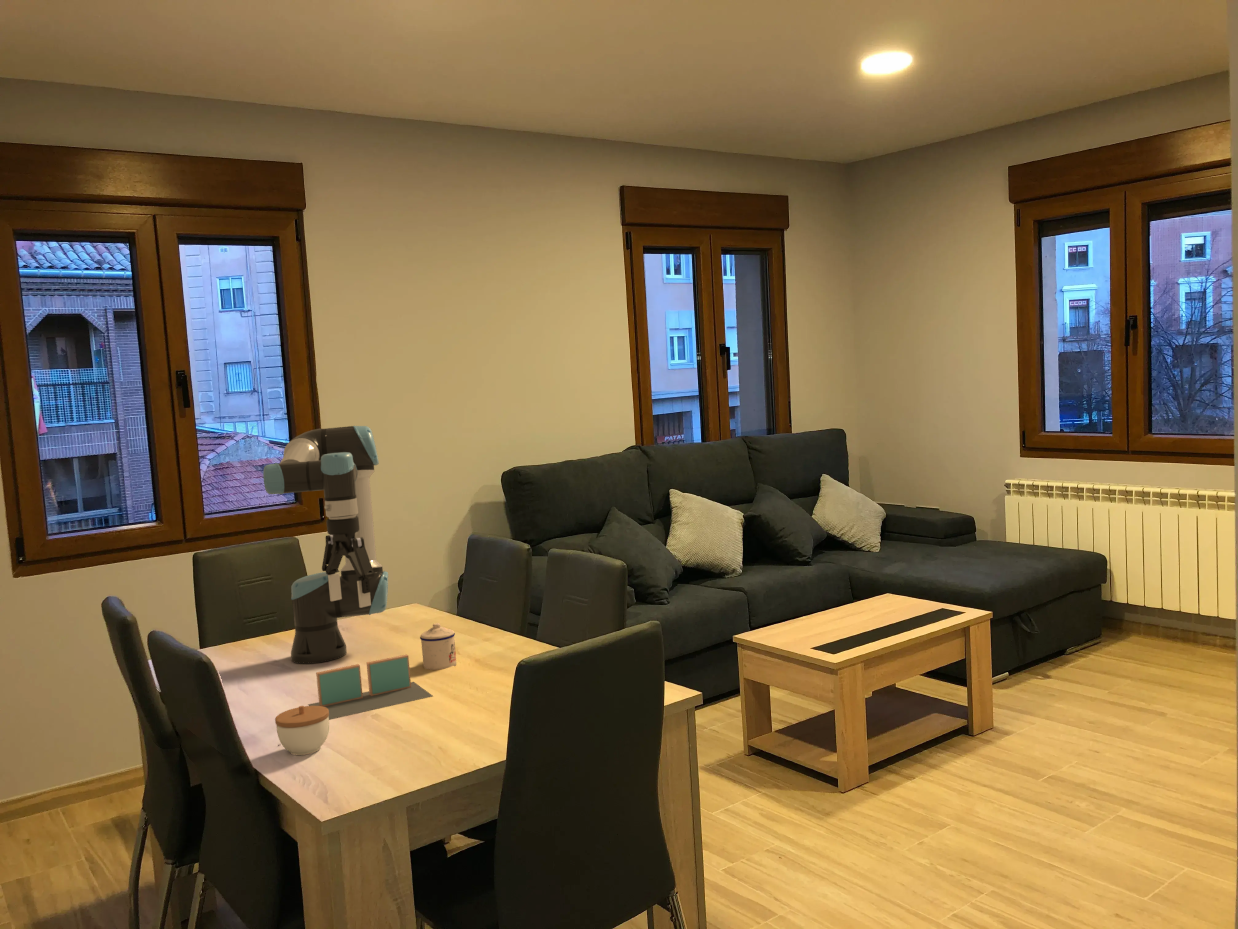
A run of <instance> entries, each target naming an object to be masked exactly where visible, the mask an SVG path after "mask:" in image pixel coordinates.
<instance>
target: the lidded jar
mask: <svg viewBox="0 0 1238 929" xmlns="http://www.w3.org/2000/svg"><path fill="white" fill-rule="evenodd" d="M274 720H275V721H274V722H275V726H276V733H277V737H278V740H279V742H280V744H281V746H282V747H283V748H284V749H285V750H286V751H288V752H289V753H290V754H291V755H293V756H306V755H311V754H313V753H316V752H318V751H320V750H321V749H322V746H323V745H324V743H325V742H326V740H327V738H328V736H329V733H330V732H329V731H330V720H329V710H328V709H327V708H326V707H323V706H309V705H299V706H298V707H294V708H290V709H288V710H285V711H282V712H281V713H278V714H277V716H276V717H275V719H274Z"/></svg>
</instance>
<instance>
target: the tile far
mask: <svg viewBox="0 0 1238 929" xmlns="http://www.w3.org/2000/svg"><path fill="white" fill-rule="evenodd" d="M409 658H410V657H409V655H408V654H406V653H405V654H402V655H396V656H393V657H392V656H391V657H386V658H380V659H378V660H377V659H376V660H372V661H371V660H370V661H367V662H366V671H367V673H366V674H367V682H368V683H367V684H368V691H369V695H370V696H373V695H378V694H383V693H387V692H392V691H396V690H401V689H405V688H410V687H411V682H412V680H411V670H410V659H409Z"/></svg>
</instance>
